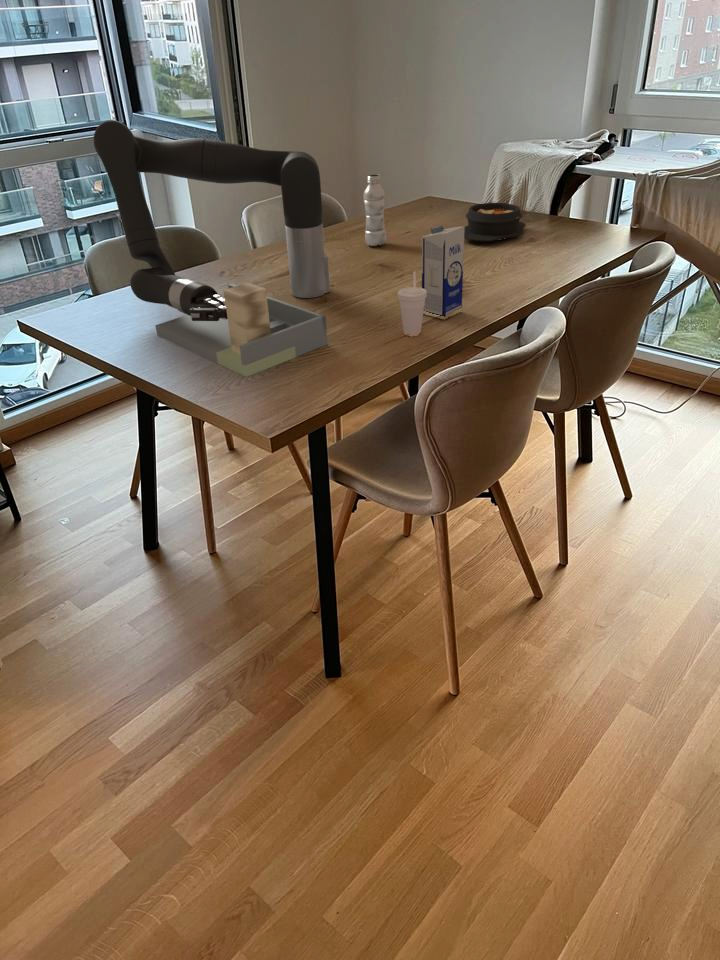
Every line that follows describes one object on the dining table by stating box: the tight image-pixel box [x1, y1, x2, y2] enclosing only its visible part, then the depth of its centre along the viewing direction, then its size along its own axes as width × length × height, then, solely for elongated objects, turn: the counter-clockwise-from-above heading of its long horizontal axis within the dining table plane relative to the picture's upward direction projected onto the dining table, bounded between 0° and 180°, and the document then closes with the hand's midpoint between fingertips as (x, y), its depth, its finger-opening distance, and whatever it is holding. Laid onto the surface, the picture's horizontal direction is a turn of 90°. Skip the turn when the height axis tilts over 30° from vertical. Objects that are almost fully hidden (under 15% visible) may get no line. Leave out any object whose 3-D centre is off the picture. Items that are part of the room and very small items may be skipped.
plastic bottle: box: [363, 173, 387, 247], centre depth 223 cm, size 6×7×20 cm
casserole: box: [464, 202, 527, 242], centre depth 230 cm, size 25×19×8 cm
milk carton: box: [421, 225, 465, 317], centre depth 173 cm, size 7×7×20 cm
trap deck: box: [154, 283, 328, 378], centre depth 168 cm, size 22×34×6 cm, turn 44°
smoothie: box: [396, 270, 427, 335], centre depth 165 cm, size 6×6×14 cm
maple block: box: [223, 282, 271, 355], centre depth 154 cm, size 6×6×13 cm
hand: (240, 316), depth 156 cm, fingers closed
